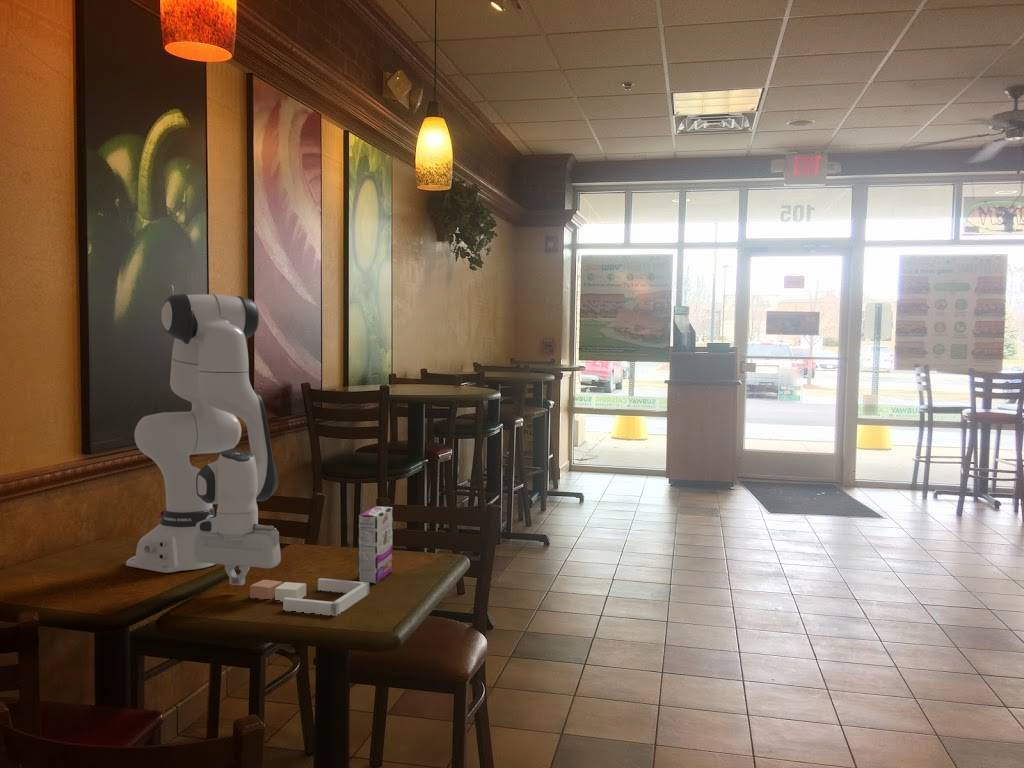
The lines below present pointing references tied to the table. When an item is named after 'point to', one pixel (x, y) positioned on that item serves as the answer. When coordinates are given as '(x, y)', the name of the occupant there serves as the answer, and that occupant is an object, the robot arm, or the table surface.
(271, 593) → the terracotta tile
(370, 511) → the candy bar box
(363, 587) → the box
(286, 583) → the cream tile
